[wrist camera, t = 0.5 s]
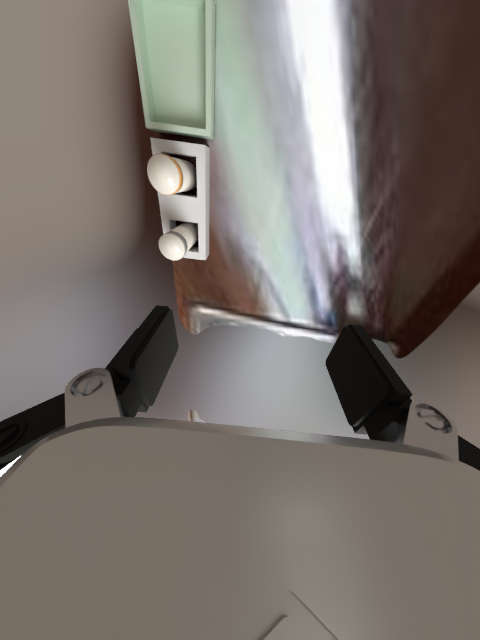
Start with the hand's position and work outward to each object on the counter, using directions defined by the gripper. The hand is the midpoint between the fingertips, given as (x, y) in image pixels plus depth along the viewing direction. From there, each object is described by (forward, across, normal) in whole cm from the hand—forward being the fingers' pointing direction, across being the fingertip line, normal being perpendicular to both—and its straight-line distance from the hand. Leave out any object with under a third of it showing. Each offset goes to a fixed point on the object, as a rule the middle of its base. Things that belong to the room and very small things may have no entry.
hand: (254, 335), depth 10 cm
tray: (+27, +11, -16) cm, 33 cm away
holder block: (+27, +11, -3) cm, 30 cm away
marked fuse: (+27, +11, -7) cm, 30 cm away
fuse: (+27, +11, +1) cm, 30 cm away
